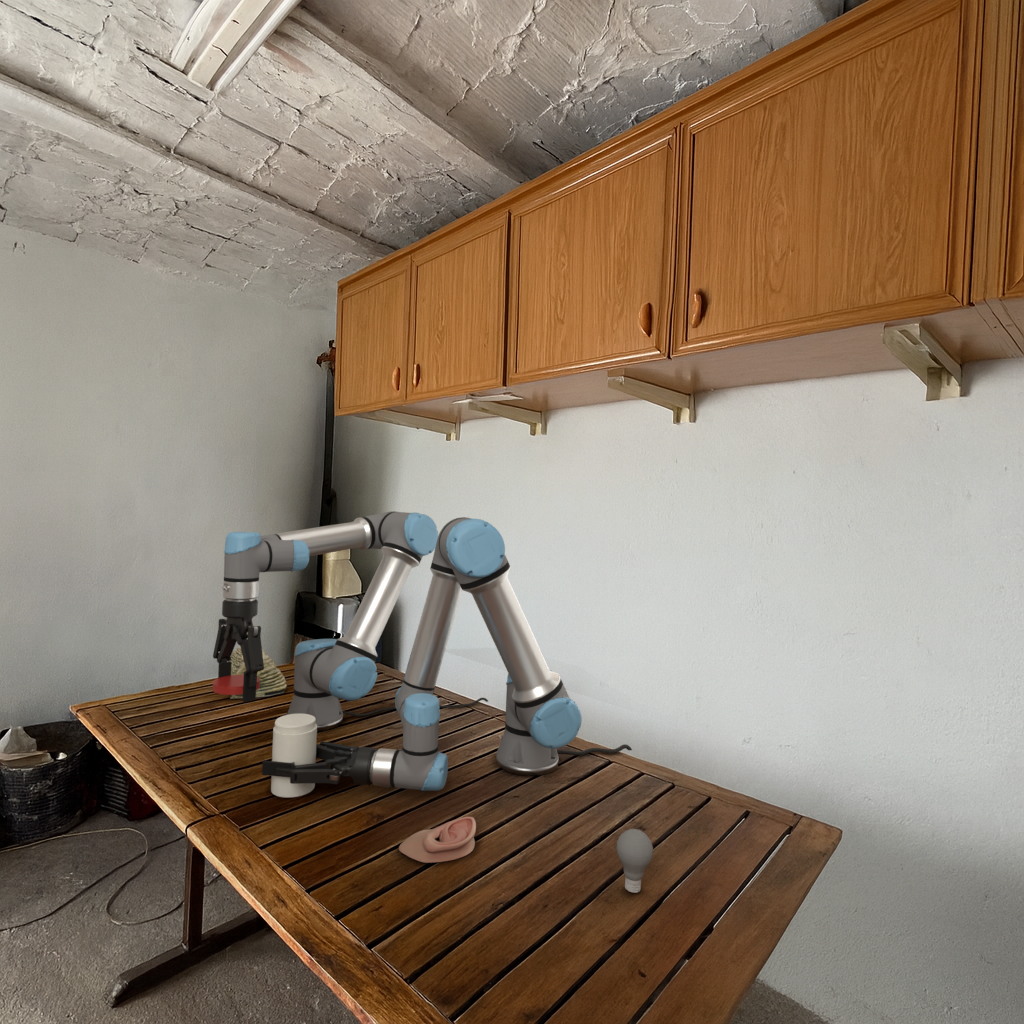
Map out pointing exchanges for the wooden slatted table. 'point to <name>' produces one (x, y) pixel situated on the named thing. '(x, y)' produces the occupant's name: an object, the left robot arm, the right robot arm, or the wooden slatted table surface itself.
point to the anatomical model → (441, 842)
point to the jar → (293, 750)
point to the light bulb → (634, 857)
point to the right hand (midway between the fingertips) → (274, 758)
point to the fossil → (260, 675)
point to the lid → (230, 685)
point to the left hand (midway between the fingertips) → (236, 695)
